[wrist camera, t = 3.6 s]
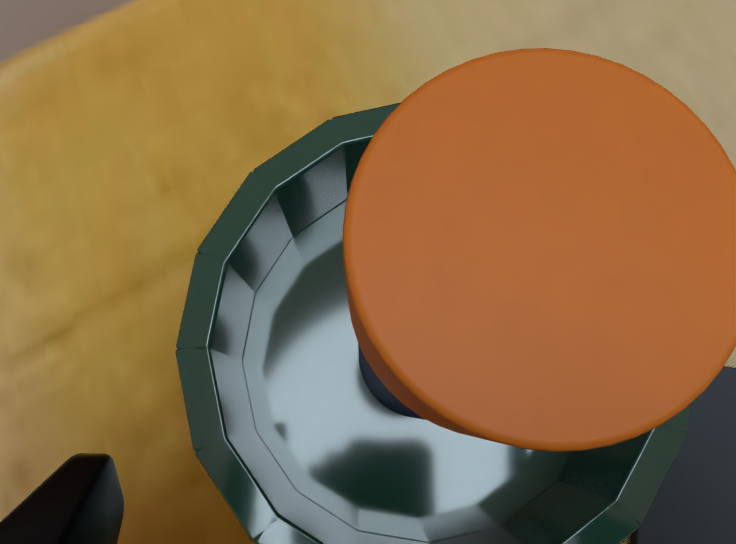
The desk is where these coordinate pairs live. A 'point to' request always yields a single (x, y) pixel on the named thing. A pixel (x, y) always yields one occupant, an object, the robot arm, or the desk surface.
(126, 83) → the desk surface
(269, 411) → the pot
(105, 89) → the desk surface
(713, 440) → the dark grey flat plate
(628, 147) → the disc
